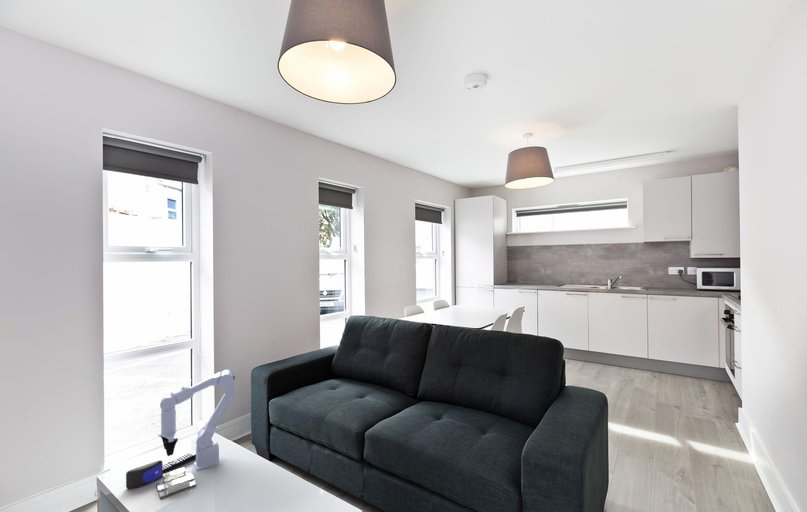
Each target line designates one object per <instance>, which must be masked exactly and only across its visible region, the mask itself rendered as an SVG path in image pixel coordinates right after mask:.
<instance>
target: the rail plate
mask: <svg viewBox="0 0 807 512" xmlns="http://www.w3.org/2000/svg"><path fill="white" fill-rule="evenodd" d="M195 486H196V487H197V483H196V481H195V477H194V475H193V474H192V472H191V471H189V472H187V471H186V469H185V466H184V467H181V468H177V469H174V470H172V471H169V472H168V471H167V472H166V473H165V472H164V473H163V475H162V480H161V481H159V482H156V483H155V488H156V490H157V493H158V496H159V499H160V500H163V499H166V498H169V497H172V496H173V495H174V496H175V495H177V494H180V493H181V492H184V491H188V490H190V489H193V488H195ZM187 489H188V490H187Z"/></svg>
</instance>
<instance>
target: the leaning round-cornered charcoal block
mask: <svg viewBox="0 0 807 512" xmlns="http://www.w3.org/2000/svg"><path fill="white" fill-rule="evenodd" d="M163 468H164V467H163V460H161V459H160V460H157V461H153V462H150V463H147V464H144V465H141V466H139V467H135V468H133V469H129V470H128V471H126V473H125V487H126V489H128V490H133V489H134V490H135V489H138V488H141V487H144V486H147V485H149V484H152V483H154V482H157V481H158V480H159V479H160V478H163V474H164V473H163V470H164V469H163Z"/></svg>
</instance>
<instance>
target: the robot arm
mask: <svg viewBox="0 0 807 512" xmlns="http://www.w3.org/2000/svg"><path fill="white" fill-rule="evenodd" d="M211 386H213V387H221V388H222V389H223V392H224V393H223V395H222V396H221V398H220V399H219V402H218V404H217V406H216V407H215V409H214V410H213V412H212V414H211V416H210V417H209V419H208V421H207V423H205V425H204V426H203V427H202V428H201V429H200V430H199V431H198V433H197V438H196V442H195V461H194V462H193V465H194V467H195V469H196V470H197V471H200V470H202V469H203V470H204V469H205V468H206V469H207V468H209V467H212V466H214V465H218V464H220V445H219V442H218V441H213V436H214V434H215V433H216V430H217V427H218V426H219V424H220V422H221V421H222V419H223V417H224V415H225V413H226V412H227V410H228V408H229V406H230V405H231V403H232V401H233V400H234V397H235V396H236V394H237V385H236V376H235V373H233V371H232V370H231V369H224V370H222V371H219V372H216V373H215V374H213V375H211V376H209V377H208V378H205V379H203V380H202V381H200V382H198V383H195V384H194V385H192V386H189V385H187V386H182V387H181V388H180V389H178V390H176V391H175V392H173V391H172V392H170V393H169V394H166V395H165V396H163V397H162V400H161V401H160V402H159V403H160V405H159V406H160V411H161V413H160V417H161V418H160V428H161V429H160V432H159V433H157V436H158V437H160V438H161V440H162V444H163V448H164V450H166V455H167V457H169V456H172V455H174V452H175V448H176V444H177V443H178V441H179V438H178V437H176V438H175V436H176V433H177V413H176V406H178V405H180V404H181V403H184V402H185V401H187V400H189V399H192V398H193V397H194V395H195V393H198V392H200V391H202V390H205V389H206V388H209V387H211Z"/></svg>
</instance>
